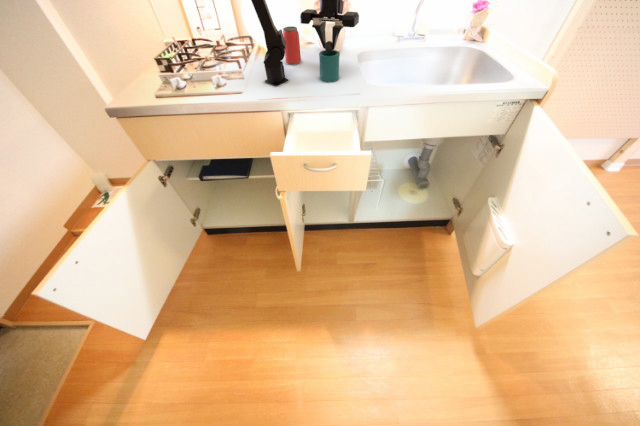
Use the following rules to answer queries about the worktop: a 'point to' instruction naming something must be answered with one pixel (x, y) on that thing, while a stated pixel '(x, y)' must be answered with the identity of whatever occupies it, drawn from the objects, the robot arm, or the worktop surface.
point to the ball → (328, 46)
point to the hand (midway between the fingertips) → (329, 48)
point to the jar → (329, 66)
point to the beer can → (292, 45)
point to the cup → (329, 37)
